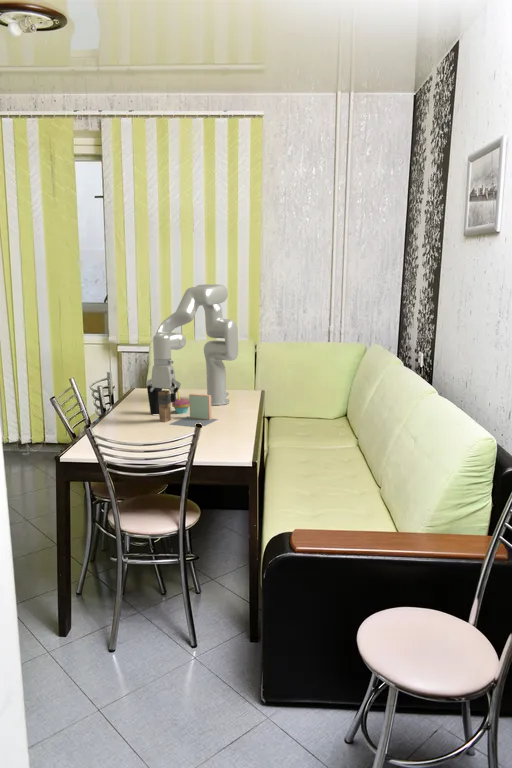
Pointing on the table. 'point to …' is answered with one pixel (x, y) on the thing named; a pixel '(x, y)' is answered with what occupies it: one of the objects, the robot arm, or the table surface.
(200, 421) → the mat
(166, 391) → the banded brown box
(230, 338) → the robot arm
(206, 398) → the tile
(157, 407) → the drinking cup
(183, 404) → the cupcake
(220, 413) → the table surface
